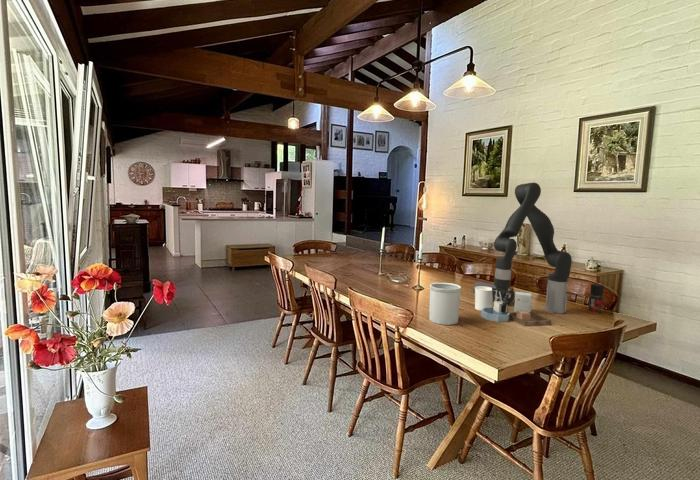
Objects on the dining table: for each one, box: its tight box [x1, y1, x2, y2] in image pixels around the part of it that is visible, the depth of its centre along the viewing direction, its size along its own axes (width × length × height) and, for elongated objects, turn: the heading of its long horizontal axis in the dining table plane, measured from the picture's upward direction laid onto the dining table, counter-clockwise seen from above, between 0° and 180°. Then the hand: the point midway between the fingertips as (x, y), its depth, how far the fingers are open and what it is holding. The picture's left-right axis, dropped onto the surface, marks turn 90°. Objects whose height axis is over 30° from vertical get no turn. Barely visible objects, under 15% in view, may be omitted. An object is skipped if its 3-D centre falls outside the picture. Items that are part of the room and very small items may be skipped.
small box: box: [513, 291, 533, 312], centre depth 201 cm, size 8×6×10 cm
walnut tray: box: [509, 311, 552, 327], centre depth 186 cm, size 14×14×3 cm
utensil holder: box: [428, 282, 462, 326], centre depth 183 cm, size 15×15×18 cm
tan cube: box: [516, 310, 531, 322], centre depth 185 cm, size 4×4×4 cm
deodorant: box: [587, 283, 605, 314], centre depth 206 cm, size 6×6×15 cm
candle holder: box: [474, 286, 493, 312], centre depth 204 cm, size 10×10×12 cm
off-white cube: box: [493, 301, 508, 313], centre depth 190 cm, size 4×4×4 cm
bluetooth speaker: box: [472, 281, 516, 304], centre depth 223 cm, size 23×9×10 cm, turn 34°
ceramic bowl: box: [480, 306, 511, 323], centre depth 190 cm, size 13×13×4 cm
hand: (500, 310), depth 190 cm, fingers closed on off-white cube, 4 cm apart
